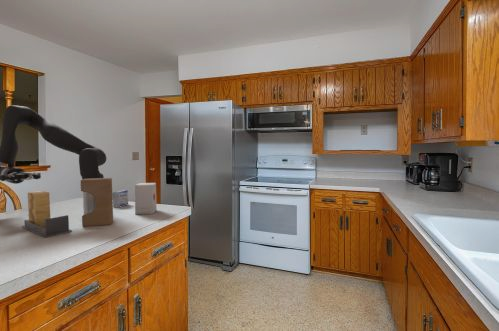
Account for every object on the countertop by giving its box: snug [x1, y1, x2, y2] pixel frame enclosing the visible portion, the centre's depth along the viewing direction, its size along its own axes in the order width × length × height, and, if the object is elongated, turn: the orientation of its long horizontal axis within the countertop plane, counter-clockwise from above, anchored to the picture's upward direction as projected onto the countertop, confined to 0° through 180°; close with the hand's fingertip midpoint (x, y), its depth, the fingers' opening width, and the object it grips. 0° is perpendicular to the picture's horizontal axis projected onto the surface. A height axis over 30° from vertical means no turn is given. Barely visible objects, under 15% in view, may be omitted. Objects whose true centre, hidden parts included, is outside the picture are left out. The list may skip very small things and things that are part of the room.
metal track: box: [21, 215, 72, 239], centre depth 111 cm, size 25×9×7 cm, turn 56°
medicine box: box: [112, 189, 129, 208], centre depth 157 cm, size 8×4×9 cm, turn 168°
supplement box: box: [134, 182, 157, 215], centre depth 141 cm, size 9×9×15 cm
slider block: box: [27, 190, 51, 226], centre depth 114 cm, size 8×5×14 cm, turn 56°
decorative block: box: [80, 177, 114, 228], centre depth 118 cm, size 11×6×20 cm, turn 104°
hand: (26, 177), depth 121 cm, fingers open, 8 cm apart
